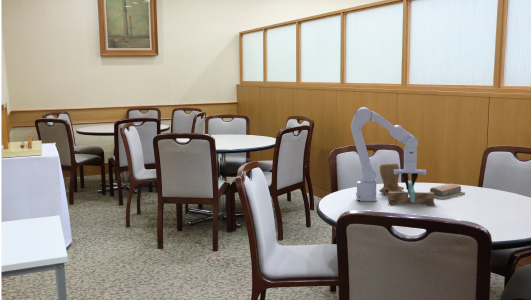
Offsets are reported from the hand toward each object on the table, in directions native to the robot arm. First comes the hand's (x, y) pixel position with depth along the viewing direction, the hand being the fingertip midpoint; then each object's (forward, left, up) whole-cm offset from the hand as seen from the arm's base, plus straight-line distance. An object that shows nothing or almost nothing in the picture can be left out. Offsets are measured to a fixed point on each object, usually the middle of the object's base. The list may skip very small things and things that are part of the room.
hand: (409, 189), depth 222 cm
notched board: (0, -6, -5) cm, 8 cm away
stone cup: (-8, +14, -5) cm, 17 cm away
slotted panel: (0, -6, -2) cm, 6 cm away
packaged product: (+18, +12, -6) cm, 22 cm away
